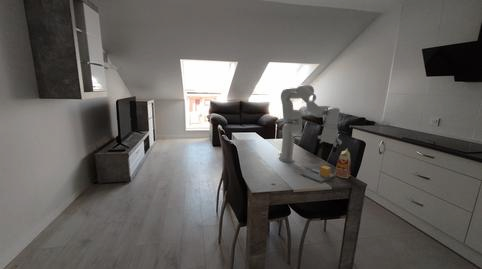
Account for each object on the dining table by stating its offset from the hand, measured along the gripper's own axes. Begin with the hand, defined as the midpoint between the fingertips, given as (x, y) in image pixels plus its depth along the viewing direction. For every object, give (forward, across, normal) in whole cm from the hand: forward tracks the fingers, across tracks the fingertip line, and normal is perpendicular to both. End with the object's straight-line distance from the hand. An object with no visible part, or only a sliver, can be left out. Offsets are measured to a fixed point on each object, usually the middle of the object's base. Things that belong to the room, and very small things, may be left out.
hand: (327, 150), depth 157 cm
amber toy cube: (+19, 0, 0) cm, 19 cm away
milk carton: (+20, +6, +14) cm, 25 cm away
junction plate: (+20, -4, -2) cm, 20 cm away
